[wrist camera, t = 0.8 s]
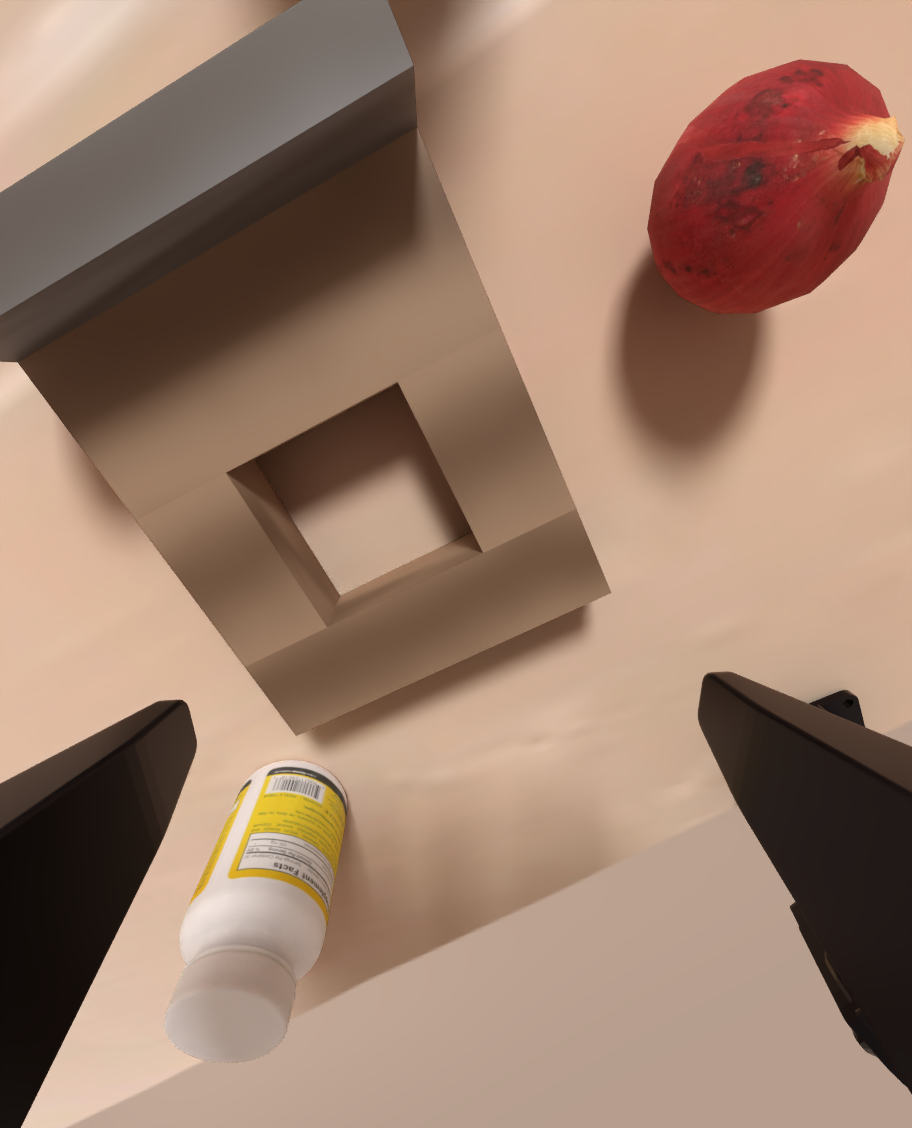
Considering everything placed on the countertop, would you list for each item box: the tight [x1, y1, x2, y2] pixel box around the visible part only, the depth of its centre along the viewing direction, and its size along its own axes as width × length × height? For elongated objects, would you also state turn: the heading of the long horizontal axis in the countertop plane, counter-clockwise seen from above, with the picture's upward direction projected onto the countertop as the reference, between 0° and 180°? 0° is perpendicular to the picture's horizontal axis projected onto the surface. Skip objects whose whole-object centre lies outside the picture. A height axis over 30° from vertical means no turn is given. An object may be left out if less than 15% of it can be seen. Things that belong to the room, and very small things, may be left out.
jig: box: [0, 0, 611, 736], centre depth 17 cm, size 18×14×6 cm
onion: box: [647, 59, 905, 313], centre depth 14 cm, size 6×6×8 cm
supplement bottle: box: [164, 760, 347, 1063], centre depth 21 cm, size 5×5×10 cm
